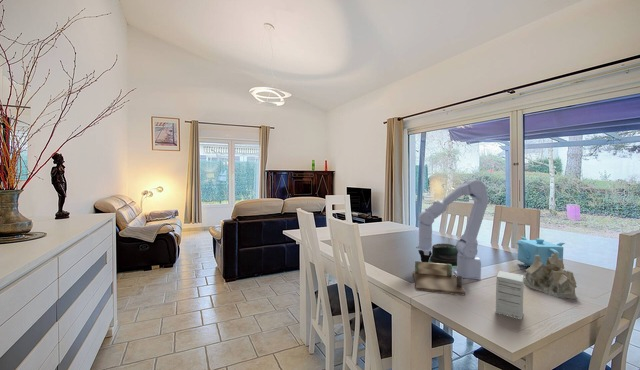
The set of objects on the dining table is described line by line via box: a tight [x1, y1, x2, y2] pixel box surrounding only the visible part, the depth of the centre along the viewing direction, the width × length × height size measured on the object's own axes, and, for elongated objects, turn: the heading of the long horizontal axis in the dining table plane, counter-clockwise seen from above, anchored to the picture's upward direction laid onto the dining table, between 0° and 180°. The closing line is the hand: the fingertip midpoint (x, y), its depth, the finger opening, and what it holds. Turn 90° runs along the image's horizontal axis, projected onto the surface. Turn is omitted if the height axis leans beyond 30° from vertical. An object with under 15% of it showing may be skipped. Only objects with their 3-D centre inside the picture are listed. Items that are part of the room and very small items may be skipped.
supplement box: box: [495, 270, 525, 320], centre depth 96 cm, size 7×7×13 cm
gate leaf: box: [414, 260, 453, 276], centre depth 128 cm, size 16×2×5 cm, turn 75°
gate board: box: [413, 270, 467, 296], centre depth 121 cm, size 18×20×5 cm
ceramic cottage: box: [524, 252, 578, 300], centre depth 115 cm, size 16×16×15 cm
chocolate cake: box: [429, 243, 458, 268], centre depth 151 cm, size 20×20×9 cm
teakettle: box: [514, 236, 566, 267], centre depth 142 cm, size 19×19×15 cm
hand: (424, 266), depth 133 cm, fingers closed
